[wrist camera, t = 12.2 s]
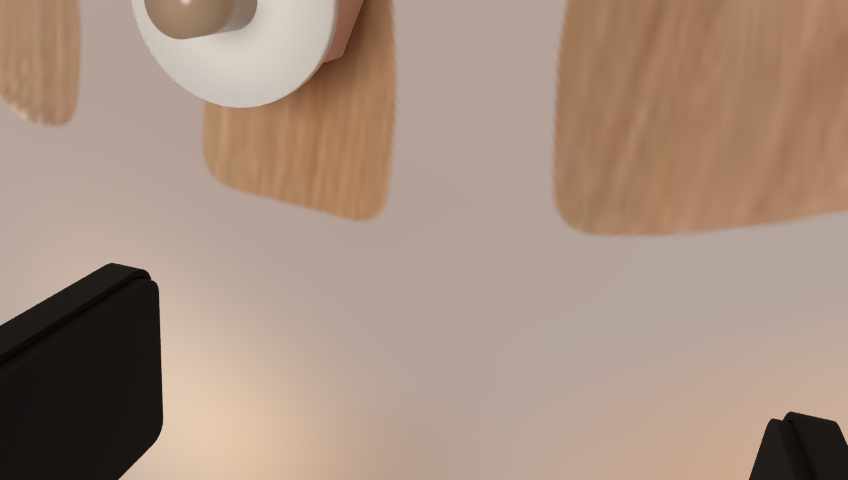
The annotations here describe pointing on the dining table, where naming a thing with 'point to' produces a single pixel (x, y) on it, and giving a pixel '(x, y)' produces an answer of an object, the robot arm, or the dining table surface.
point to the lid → (238, 45)
